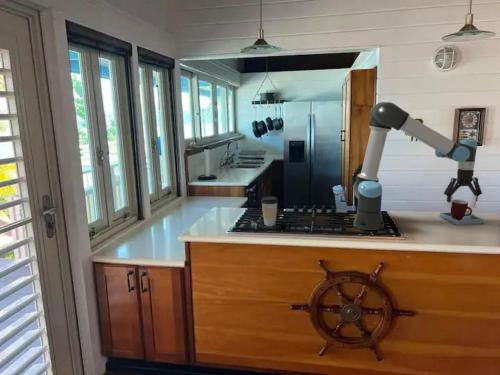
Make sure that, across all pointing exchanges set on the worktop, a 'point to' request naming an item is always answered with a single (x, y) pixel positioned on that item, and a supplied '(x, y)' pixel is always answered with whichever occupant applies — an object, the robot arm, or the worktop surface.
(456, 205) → the mug
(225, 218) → the worktop surface
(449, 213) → the tray
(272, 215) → the coffee cup
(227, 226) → the worktop surface
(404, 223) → the worktop surface
